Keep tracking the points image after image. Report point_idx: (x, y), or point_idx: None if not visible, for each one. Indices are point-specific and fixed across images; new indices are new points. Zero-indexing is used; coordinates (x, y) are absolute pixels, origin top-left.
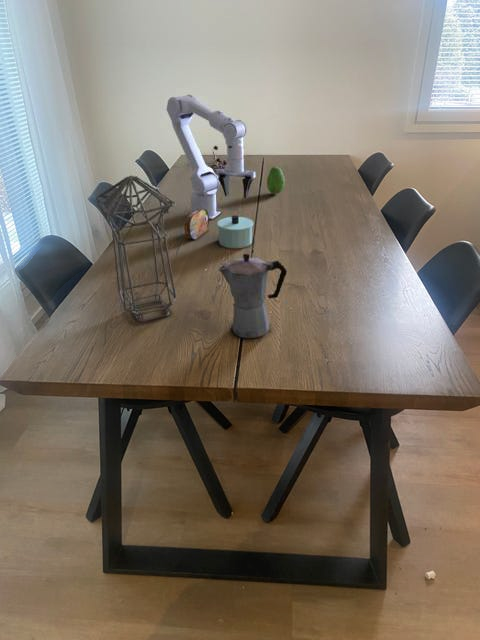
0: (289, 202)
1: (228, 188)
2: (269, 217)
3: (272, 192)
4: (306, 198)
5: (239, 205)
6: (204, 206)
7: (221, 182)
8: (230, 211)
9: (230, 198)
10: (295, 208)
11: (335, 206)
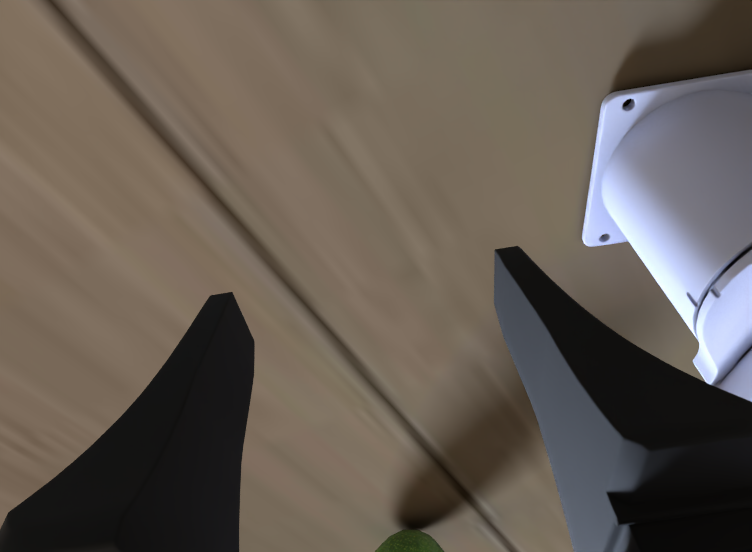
0: (281, 499)
1: (519, 369)
2: None
3: (409, 534)
4: (247, 545)
5: (508, 386)
6: (746, 141)
7: (646, 375)
8: None
9: None
10: None
11: None
